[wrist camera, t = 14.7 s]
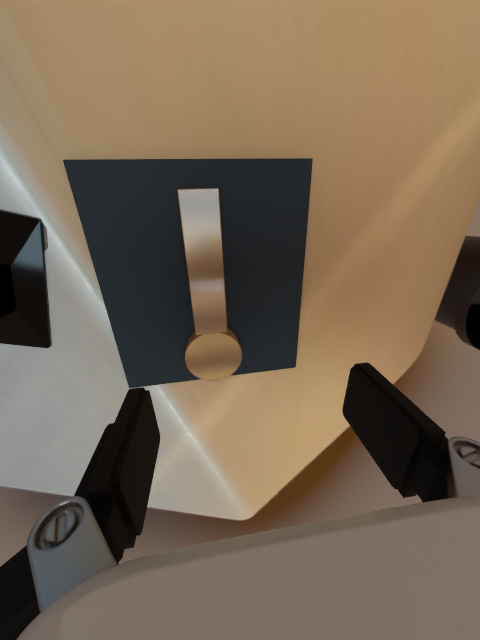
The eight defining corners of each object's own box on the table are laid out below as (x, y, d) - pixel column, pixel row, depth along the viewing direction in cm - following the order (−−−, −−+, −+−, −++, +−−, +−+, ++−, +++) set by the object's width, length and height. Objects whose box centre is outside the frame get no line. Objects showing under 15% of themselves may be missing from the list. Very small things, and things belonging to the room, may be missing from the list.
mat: (309, 159, 21) (312, 158, 20) (294, 364, 30) (295, 367, 29) (66, 161, 18) (62, 159, 18) (130, 384, 27) (129, 388, 27)
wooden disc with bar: (162, 193, 20) (155, 189, 17) (233, 191, 20) (238, 187, 17) (189, 373, 27) (188, 391, 24) (240, 366, 28) (244, 384, 25)
